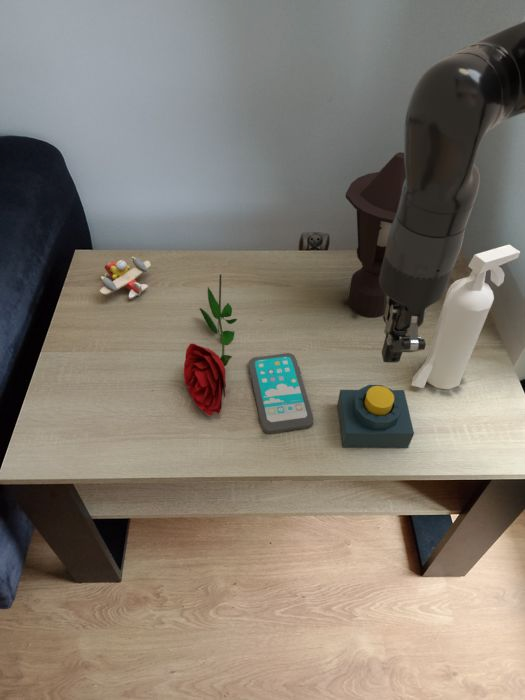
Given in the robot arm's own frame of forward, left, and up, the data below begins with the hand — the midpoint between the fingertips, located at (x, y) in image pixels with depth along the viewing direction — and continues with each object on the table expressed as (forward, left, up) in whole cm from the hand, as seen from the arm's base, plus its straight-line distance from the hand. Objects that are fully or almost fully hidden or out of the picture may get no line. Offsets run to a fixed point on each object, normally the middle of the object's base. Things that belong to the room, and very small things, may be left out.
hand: (389, 358), depth 68 cm
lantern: (+13, -25, -16) cm, 32 cm away
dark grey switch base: (0, 0, -16) cm, 16 cm away
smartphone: (+15, +3, -16) cm, 22 cm away
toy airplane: (+54, -2, -16) cm, 56 cm away
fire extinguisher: (-5, -15, -16) cm, 23 cm away
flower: (+30, +2, -16) cm, 34 cm away
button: (0, 0, -10) cm, 10 cm away
